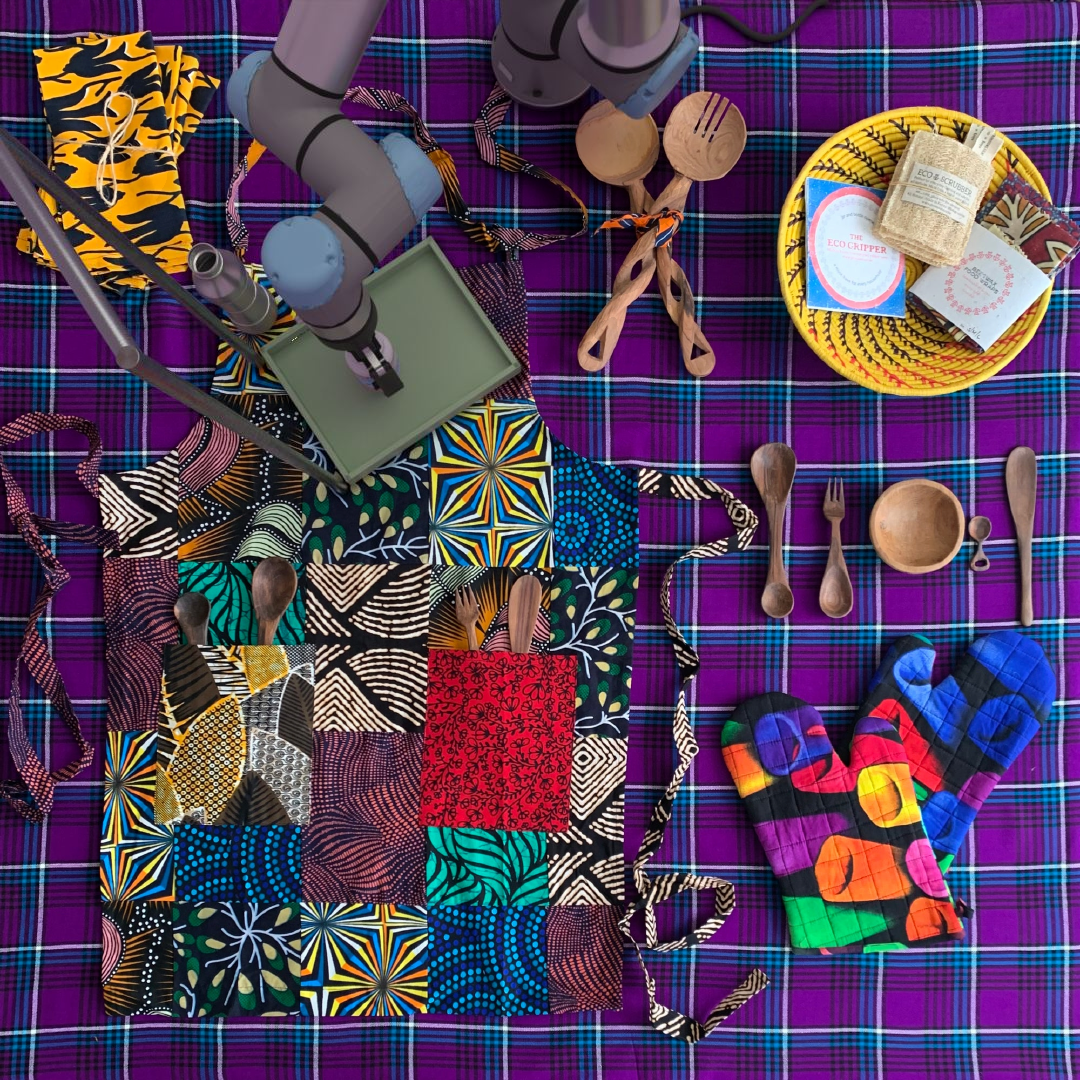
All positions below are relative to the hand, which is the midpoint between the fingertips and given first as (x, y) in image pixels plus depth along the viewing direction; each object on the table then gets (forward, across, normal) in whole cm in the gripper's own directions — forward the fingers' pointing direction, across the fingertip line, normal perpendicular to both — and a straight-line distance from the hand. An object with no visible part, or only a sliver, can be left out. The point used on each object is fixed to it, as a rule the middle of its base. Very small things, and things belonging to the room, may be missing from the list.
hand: (378, 365), depth 121 cm
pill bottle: (+2, 0, 0) cm, 2 cm away
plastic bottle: (+2, -16, -10) cm, 19 cm away
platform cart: (+2, 0, +1) cm, 2 cm away
